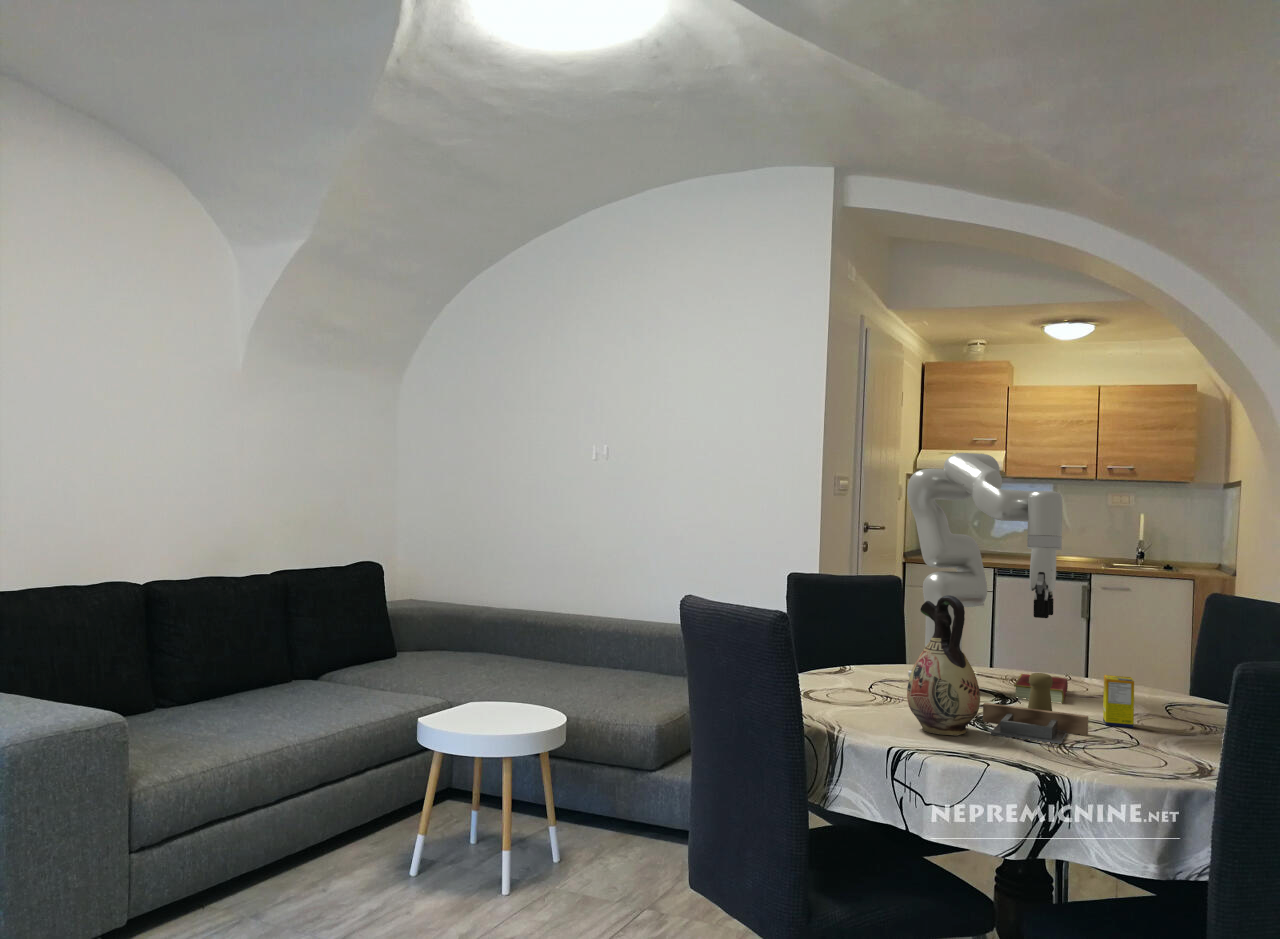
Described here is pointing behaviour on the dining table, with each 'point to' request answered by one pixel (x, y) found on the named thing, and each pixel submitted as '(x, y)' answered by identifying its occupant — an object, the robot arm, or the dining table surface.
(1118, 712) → the supplement box
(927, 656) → the ceramic jug
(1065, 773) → the dining table surface
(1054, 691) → the hardcover book
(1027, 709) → the door edge rail
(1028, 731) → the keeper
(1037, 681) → the cork
